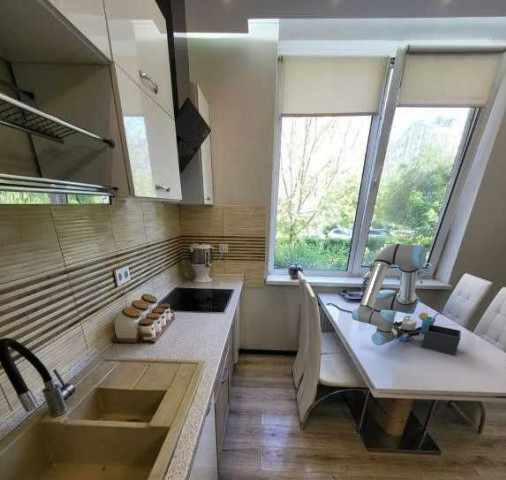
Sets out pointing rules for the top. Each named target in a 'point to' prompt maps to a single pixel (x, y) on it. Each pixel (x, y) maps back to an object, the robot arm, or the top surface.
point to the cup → (427, 321)
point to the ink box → (407, 327)
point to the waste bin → (441, 339)
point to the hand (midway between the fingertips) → (411, 325)
